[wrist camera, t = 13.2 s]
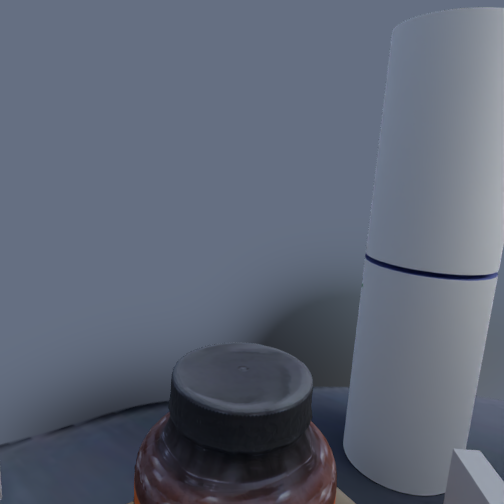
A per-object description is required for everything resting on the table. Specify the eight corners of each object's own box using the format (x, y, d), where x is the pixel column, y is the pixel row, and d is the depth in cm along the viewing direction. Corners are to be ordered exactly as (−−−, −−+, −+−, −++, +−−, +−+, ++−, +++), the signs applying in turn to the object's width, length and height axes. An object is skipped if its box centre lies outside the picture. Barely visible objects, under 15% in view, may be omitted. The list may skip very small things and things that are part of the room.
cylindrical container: (362, 495, 24) (428, 0, 19) (331, 419, 31) (373, 43, 26) (485, 496, 25) (582, 15, 20) (428, 422, 32) (487, 53, 26)
